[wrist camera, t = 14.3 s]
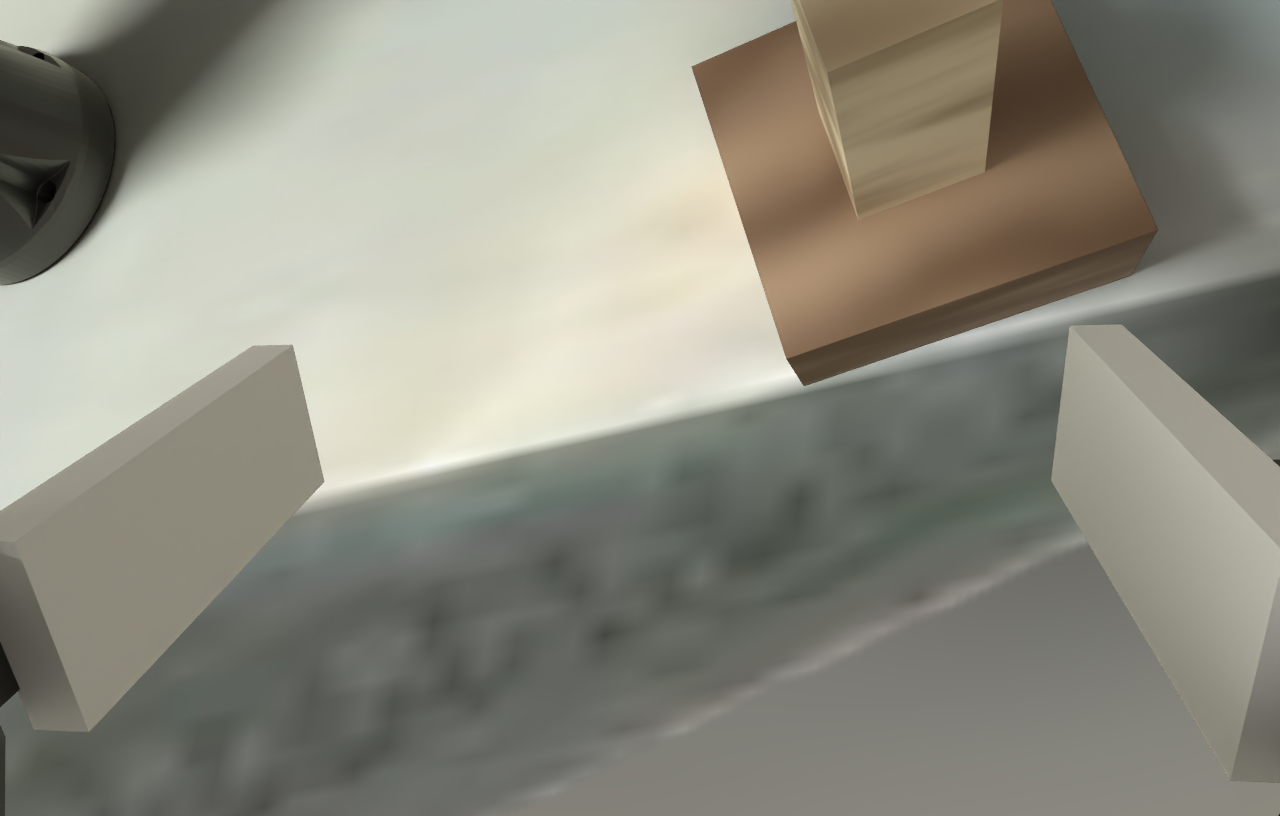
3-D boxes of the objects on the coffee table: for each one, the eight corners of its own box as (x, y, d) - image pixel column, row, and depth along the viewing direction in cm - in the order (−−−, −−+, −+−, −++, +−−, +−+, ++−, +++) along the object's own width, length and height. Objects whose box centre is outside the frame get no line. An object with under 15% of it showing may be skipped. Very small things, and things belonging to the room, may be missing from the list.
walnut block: (717, 122, 45) (691, 66, 40) (1007, 0, 41) (1015, -75, 37) (803, 386, 41) (786, 358, 36) (1130, 275, 38) (1158, 229, 33)
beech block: (819, 114, 38) (775, -65, 28) (939, 65, 37) (940, -142, 26) (858, 220, 36) (827, 72, 26) (984, 172, 35) (1003, -2, 25)
